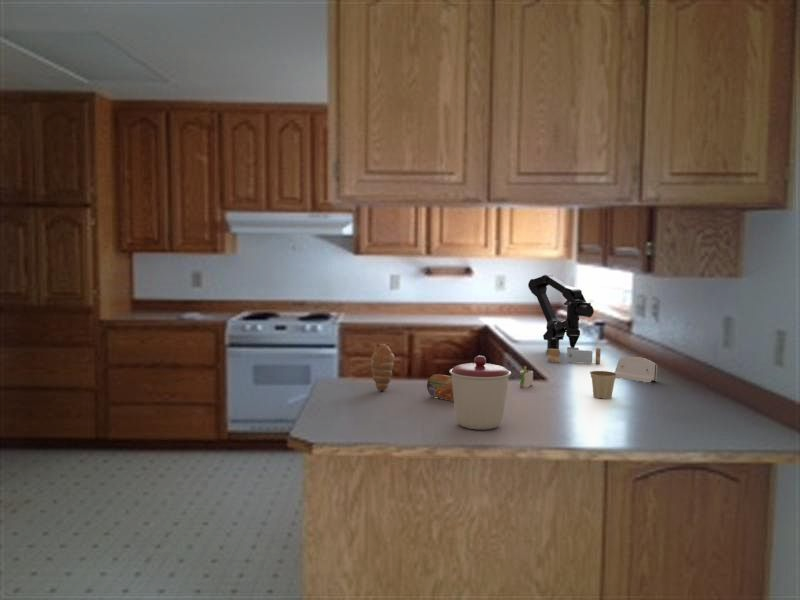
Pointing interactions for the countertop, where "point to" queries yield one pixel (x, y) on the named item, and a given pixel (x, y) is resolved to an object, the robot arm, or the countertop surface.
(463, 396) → the canister
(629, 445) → the countertop surface
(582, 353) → the door
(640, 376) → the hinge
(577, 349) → the block
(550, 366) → the countertop surface
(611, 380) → the flower pot
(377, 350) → the croissant
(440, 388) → the tin
